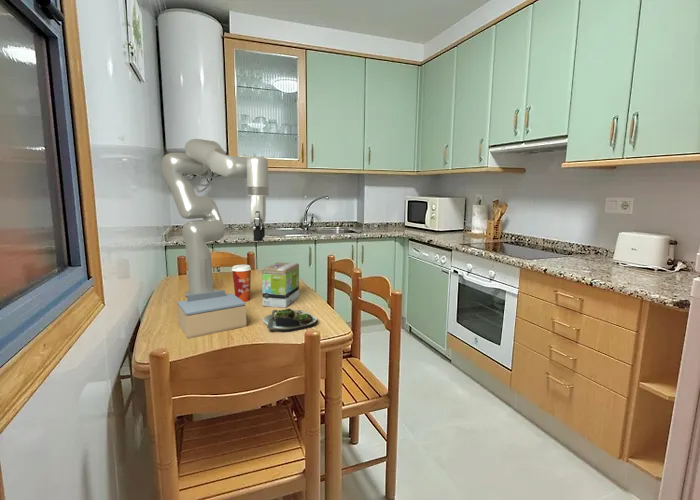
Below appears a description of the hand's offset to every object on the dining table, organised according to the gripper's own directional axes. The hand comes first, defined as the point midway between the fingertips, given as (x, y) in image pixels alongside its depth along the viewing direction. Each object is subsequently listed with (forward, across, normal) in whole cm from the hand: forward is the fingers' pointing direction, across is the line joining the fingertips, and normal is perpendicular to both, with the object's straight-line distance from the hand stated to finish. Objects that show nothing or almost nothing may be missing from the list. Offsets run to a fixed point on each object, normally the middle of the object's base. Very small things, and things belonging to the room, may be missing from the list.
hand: (259, 239), depth 137 cm
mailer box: (+26, +17, -14) cm, 35 cm away
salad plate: (+27, +19, +10) cm, 34 cm away
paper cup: (+27, -11, -8) cm, 30 cm away
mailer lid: (+19, +17, -15) cm, 29 cm away
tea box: (+26, -6, +8) cm, 28 cm away
